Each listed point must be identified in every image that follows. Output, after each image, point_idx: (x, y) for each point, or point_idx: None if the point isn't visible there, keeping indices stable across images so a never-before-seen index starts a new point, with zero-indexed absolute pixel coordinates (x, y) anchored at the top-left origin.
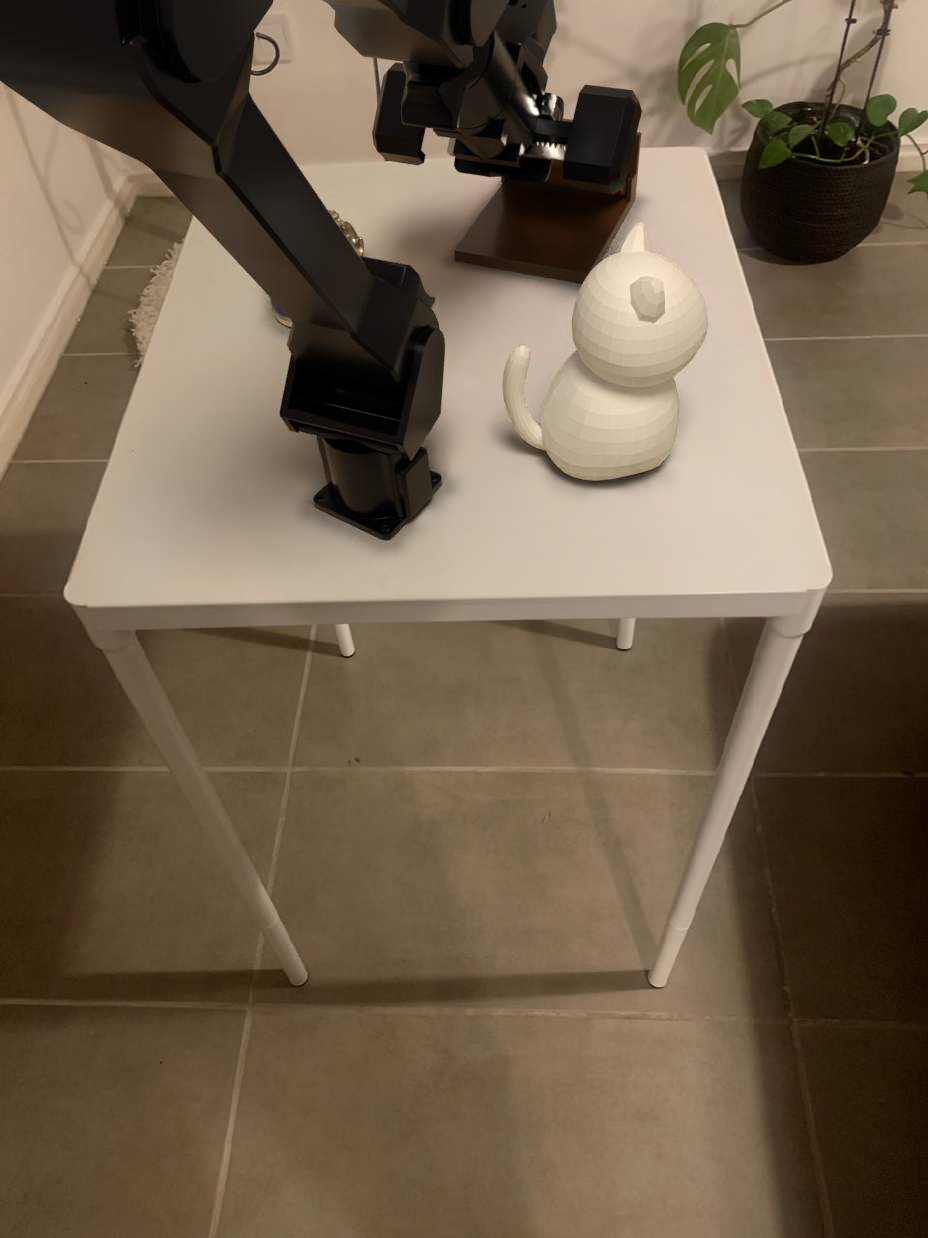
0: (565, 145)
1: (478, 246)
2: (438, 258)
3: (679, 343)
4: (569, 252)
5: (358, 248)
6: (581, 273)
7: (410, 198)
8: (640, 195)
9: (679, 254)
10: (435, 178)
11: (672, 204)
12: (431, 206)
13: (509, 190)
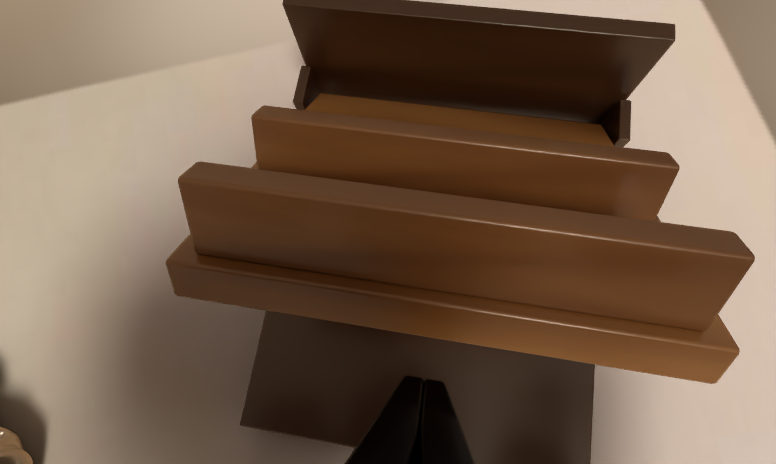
0: (557, 329)
1: (296, 400)
2: (212, 413)
3: None
4: (518, 396)
5: (9, 459)
6: None
7: (123, 183)
8: None
9: (752, 321)
10: (166, 104)
11: (678, 129)
12: (171, 207)
13: None
